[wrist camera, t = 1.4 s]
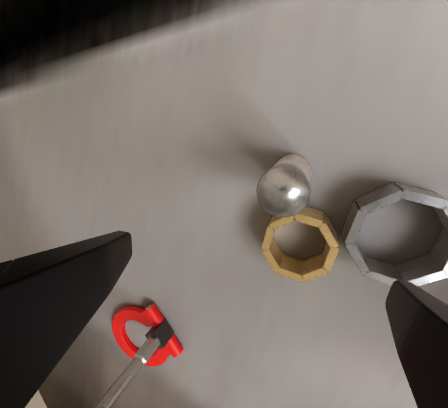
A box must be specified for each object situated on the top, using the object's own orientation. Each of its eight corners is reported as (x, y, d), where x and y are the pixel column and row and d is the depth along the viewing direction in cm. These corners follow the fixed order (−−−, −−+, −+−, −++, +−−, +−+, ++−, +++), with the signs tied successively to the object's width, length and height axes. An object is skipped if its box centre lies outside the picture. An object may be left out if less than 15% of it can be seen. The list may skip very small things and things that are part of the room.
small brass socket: (344, 217, 22) (347, 228, 19) (322, 273, 24) (322, 289, 21) (277, 198, 23) (273, 206, 21) (261, 253, 25) (256, 266, 23)
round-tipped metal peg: (317, 158, 21) (317, 174, 15) (305, 194, 22) (301, 223, 16) (279, 149, 22) (263, 160, 15) (269, 184, 23) (251, 208, 17)
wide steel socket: (468, 200, 19) (489, 211, 16) (423, 281, 21) (436, 300, 19) (363, 174, 20) (369, 181, 18) (333, 252, 23) (334, 266, 20)
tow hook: (141, 363, 36) (190, 352, 32) (52, 479, 25) (111, 485, 20) (107, 312, 35) (153, 294, 31) (0, 406, 24) (49, 398, 20)
